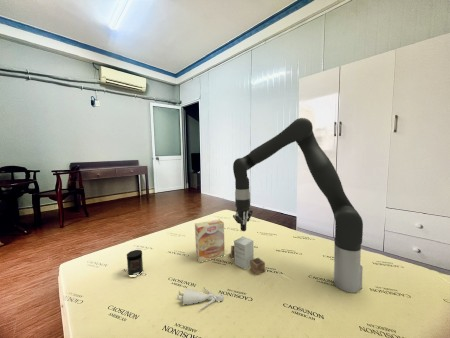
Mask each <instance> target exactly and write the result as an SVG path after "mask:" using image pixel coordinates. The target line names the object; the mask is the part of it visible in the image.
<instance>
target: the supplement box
mask: <svg viewBox="0 0 450 338" xmlns="http://www.w3.org/2000/svg"><path fill="white" fill-rule="evenodd" d="M233 246H234V255H235V259H234V264H235V266H238V267H239V268H242V269H243V268H244V269H243V270H246V269H248V268H249V267H250V260H252V259H255V257H254V256H255V254H254V251H255V250H254V240H253V239H251V238H248V237H245V236H241V237H239V238H237V239H234V240H233Z"/></svg>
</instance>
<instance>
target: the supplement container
mask: <svg viewBox="0 0 450 338" xmlns="http://www.w3.org/2000/svg"><path fill="white" fill-rule="evenodd" d="M126 263H127V264H126V265H127V275H128V274H129V275H137V274H140V273H141V272H142V271H143V272H144V267H143V265H144V263H143V251H142V250H141V249H135V250H131V251H129V252H127V254H126Z"/></svg>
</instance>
